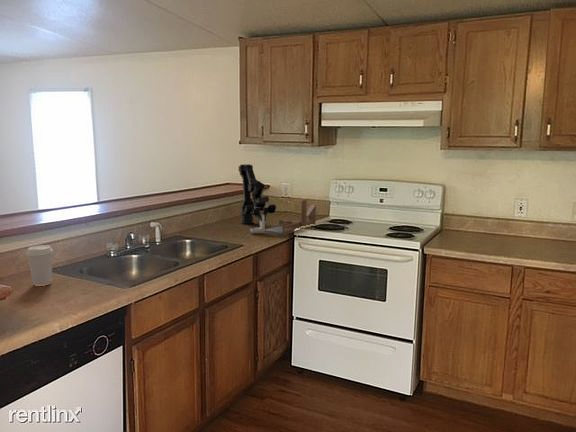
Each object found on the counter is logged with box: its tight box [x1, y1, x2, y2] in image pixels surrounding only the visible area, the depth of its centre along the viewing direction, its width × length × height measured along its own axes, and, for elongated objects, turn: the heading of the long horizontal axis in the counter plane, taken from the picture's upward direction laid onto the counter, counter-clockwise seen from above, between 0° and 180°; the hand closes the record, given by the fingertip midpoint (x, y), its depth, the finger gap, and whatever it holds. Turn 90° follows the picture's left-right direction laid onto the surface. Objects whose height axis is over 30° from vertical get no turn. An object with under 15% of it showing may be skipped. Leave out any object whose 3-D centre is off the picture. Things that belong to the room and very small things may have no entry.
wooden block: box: [300, 199, 317, 226], centre depth 307 cm, size 4×11×18 cm, turn 131°
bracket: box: [249, 213, 266, 233], centre depth 287 cm, size 4×8×10 cm, turn 110°
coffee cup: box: [25, 244, 54, 284], centre depth 189 cm, size 10×10×15 cm
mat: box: [264, 225, 295, 235], centre depth 298 cm, size 16×18×1 cm
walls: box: [278, 219, 301, 233], centre depth 298 cm, size 16×18×4 cm
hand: (263, 220), depth 286 cm, fingers closed on bracket, 2 cm apart
